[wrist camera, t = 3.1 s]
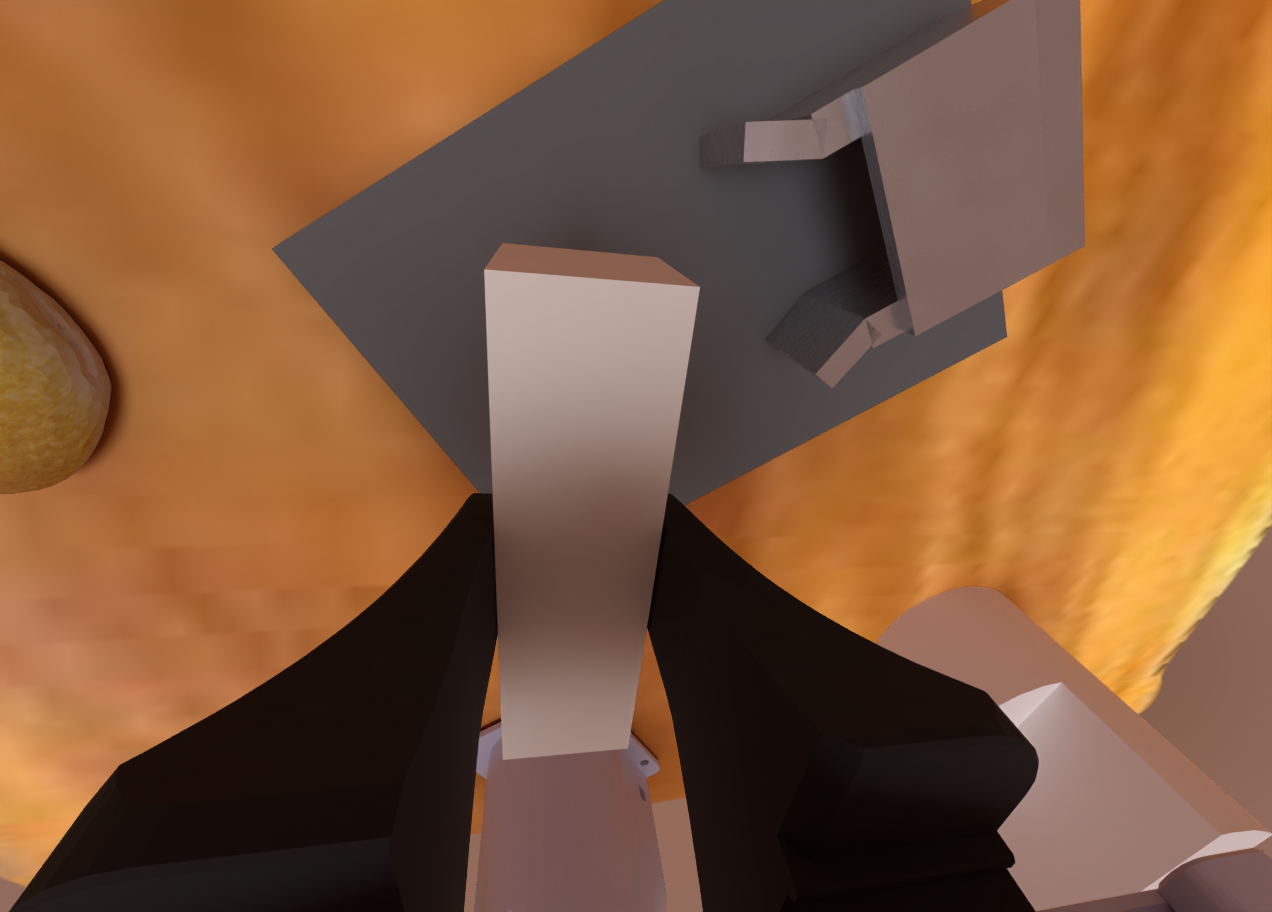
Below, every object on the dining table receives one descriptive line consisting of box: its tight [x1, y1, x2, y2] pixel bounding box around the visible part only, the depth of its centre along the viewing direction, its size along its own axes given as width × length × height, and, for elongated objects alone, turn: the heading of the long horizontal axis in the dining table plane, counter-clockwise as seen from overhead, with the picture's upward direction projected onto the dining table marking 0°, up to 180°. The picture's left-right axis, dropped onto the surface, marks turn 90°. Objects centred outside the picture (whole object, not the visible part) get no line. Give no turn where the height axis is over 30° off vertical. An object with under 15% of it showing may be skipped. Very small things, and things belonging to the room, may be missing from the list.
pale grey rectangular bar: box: [484, 243, 700, 760], centre depth 11 cm, size 11×3×3 cm, turn 174°
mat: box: [272, 0, 1007, 505], centre depth 17 cm, size 15×21×1 cm
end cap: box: [699, 0, 1085, 388], centre depth 14 cm, size 8×8×4 cm
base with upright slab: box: [876, 586, 1272, 911], centre depth 24 cm, size 9×9×12 cm
